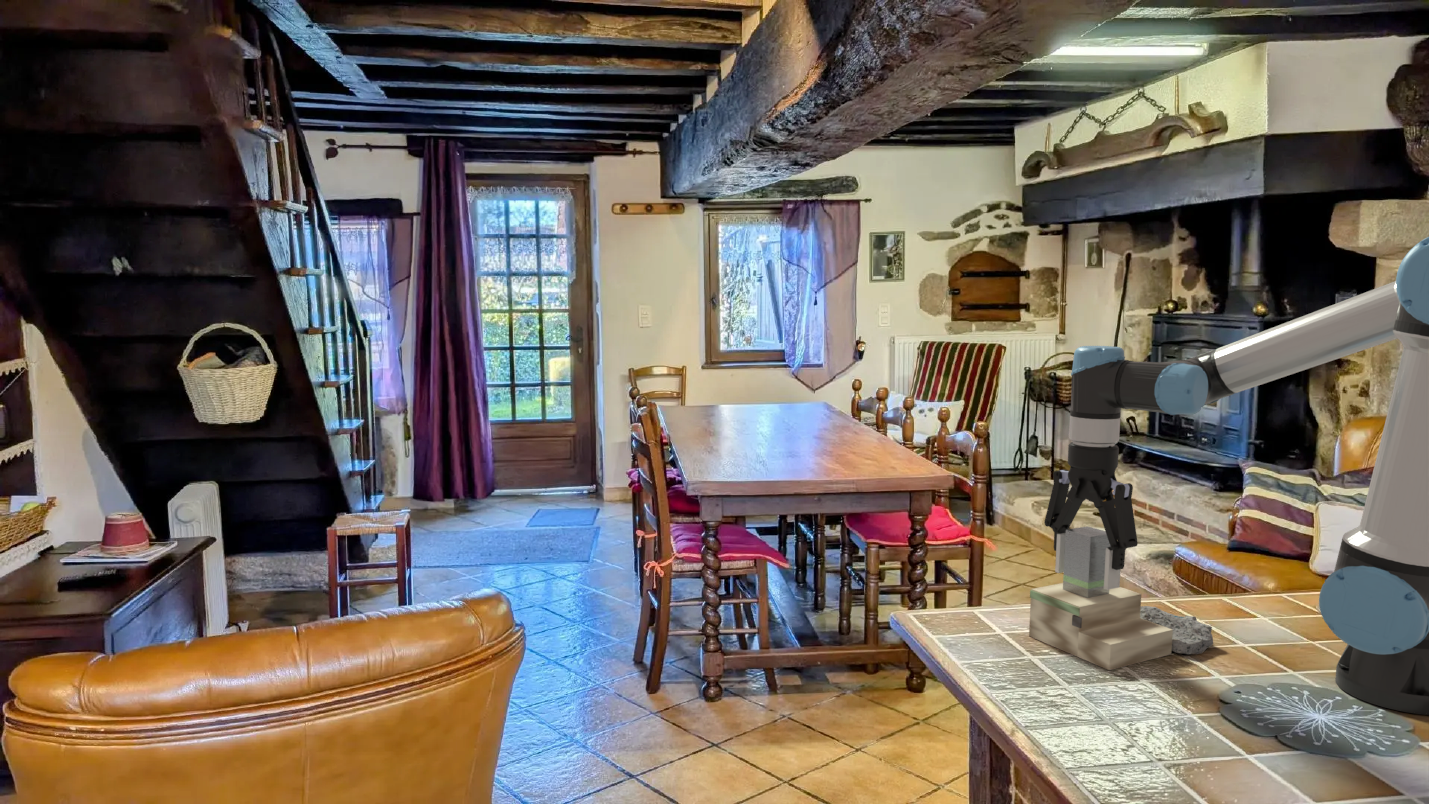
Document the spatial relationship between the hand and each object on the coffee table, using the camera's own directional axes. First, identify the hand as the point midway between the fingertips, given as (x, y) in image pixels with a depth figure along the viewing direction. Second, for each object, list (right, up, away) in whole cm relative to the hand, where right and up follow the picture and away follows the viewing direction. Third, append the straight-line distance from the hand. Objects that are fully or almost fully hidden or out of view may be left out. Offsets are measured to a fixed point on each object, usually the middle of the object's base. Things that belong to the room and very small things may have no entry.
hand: (1086, 579), depth 156 cm
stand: (+1, -10, -1) cm, 10 cm away
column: (0, -2, 0) cm, 2 cm away
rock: (+13, -11, +1) cm, 17 cm away
